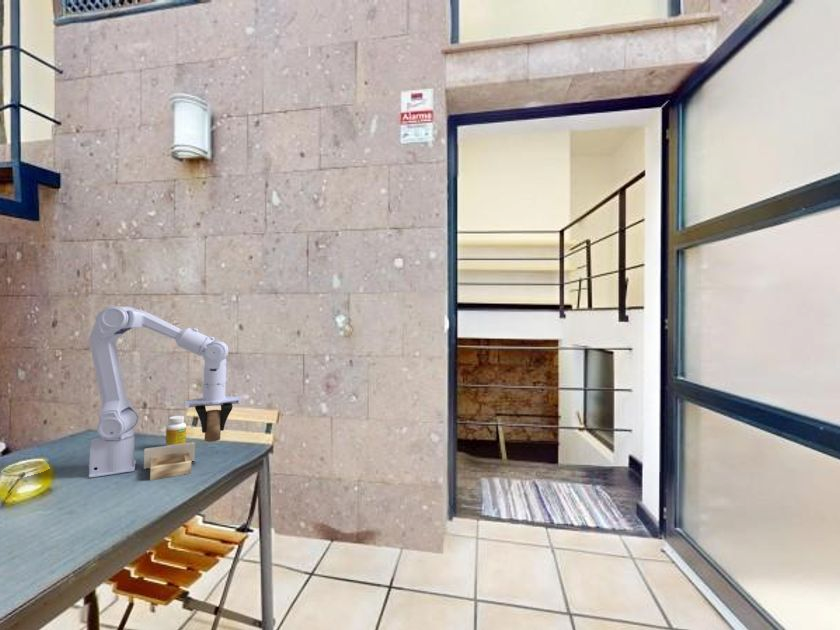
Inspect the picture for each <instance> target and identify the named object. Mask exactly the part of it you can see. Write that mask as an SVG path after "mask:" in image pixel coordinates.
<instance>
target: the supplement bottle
mask: <svg viewBox="0 0 840 630" xmlns="http://www.w3.org/2000/svg"><path fill="white" fill-rule="evenodd" d="M184 421H185V416H184V415H173V416H170V417H169V419H168V422H169V423H168V424H167V425H166V429H165V430H166V431H165V446H168V445H176V444H184V443H187V424H186V423H185V422H184Z"/></svg>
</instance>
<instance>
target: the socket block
mask: <svg viewBox="0 0 840 630" xmlns="http://www.w3.org/2000/svg"><path fill="white" fill-rule="evenodd" d="M189 473H191V474H192V462H191V459H190V455H189V452H184V453H177V454H170V455H163V456H156V457H151V465H150V468H149V474H150V475H149V477H150V478H149V479H150V481H155V480H161V479H165V478H172V477H178V476H183V475H184V474H185V475H189ZM185 475H184V476H185ZM154 479H155V480H154Z"/></svg>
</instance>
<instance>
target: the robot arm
mask: <svg viewBox="0 0 840 630" xmlns="http://www.w3.org/2000/svg"><path fill="white" fill-rule="evenodd" d="M94 319H95V323H94V325H93V327H92V330H91V332H90V334H89V336H88V342H89V348H90V353H91V357H92V360H93V361H92V362H93V366H94V371H95V376H96V381H97V385H98V390H99V395H100V399H101V406H100V408H99V411H98V414H97V415H98V423H97V426H96V432H97V434H98V435H99V438H93V439H91V442H90V447H89V461H88V478H89V479H90V478H98V477H104V476H105V477H106V476H111V475H117V474H124V473H130V472H134V471H135V469H136V462H137V461H136V459H135V457H134V456H135V430H134V428H135V427H136V426H137V425H138V422H139V414H138V412H137V411H136V410H135V409H134V407H133V402H131V401H130V399H128V398H127V392H126V387H125V384H124V383H125V382H124V379H123V378H124V377H123V373H122V368H121V364H120V359H119V354H118V348H117V344H116V342H117V341H118V339H120V338H121V337H122V336H123V335H124V334H125V333H126V332H128V331H131V330H132V329H134V328H136V329H137V328H145V329H148V330H150V331H153V332H156V333H158V334H161V335H163V336H165V337H167V338H169V339H173V340H174V341H175V343H176V346H177V347H179V348H182V349H184V350H186V351H188V352H191V353H193V354H195V355H197V356H199V357H200V356H202V358H203V360H204V367H203V385H202V387H203V389H202V397H201V398H194V399H185V400H184V405H183V407H184V409H190V408H194V409H195V411H196V414H197V416H198V418H199V421H200V424H201V432H202V434H205V432H206V424H205V420H206V411H207V409H206V408H207V407H212V406H213V407H214V406H220V410H221V431H222V432H223V431H224V430H225V425H226V423H227V420H228V417H229V415H230V413H231V411H232V410H233V405H236V404H237V405H242V404H243V397H242V396H241V395H238V396H236V395H235V396H231V395H230V396H229V395H227V396H226V391H227V390H226V388H227V387H226V386H227V384H226V383H227V356H228V355H229V347H228V345H227V343H225V342H224V341H222V340H219V339H218V340H217V339H216V338H215V337H214V336H210V337H209V336H207V335H205V334H203V333H202V332H199V331H200V330H199V329H198V328H195V327H194V328H190V327H188V328H184V329H181V328H179V327H178V326H175V325H173V324H171V323H169V322H167V321H166V320H163V319H162V318H159V316H156V315H154V314H151V313H149V312H147V311H145V310H142V309H137V308H136V307H134V306H131V305H127V306H126V305H125V306H118V305H109V306H107V307H105V308H103V309H102V310H101V311H100V312H99V313H97V314H96V315H95V318H94ZM215 339H216V340H215Z"/></svg>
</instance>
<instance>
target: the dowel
mask: <svg viewBox="0 0 840 630" xmlns="http://www.w3.org/2000/svg"><path fill="white" fill-rule="evenodd" d="M205 424H206V432H205V433H204V441H205V442H210V443H211V442H217V441H219V440H221V436H222V435H221V434H222V433H221V409H210V410H206V420H205Z"/></svg>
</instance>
